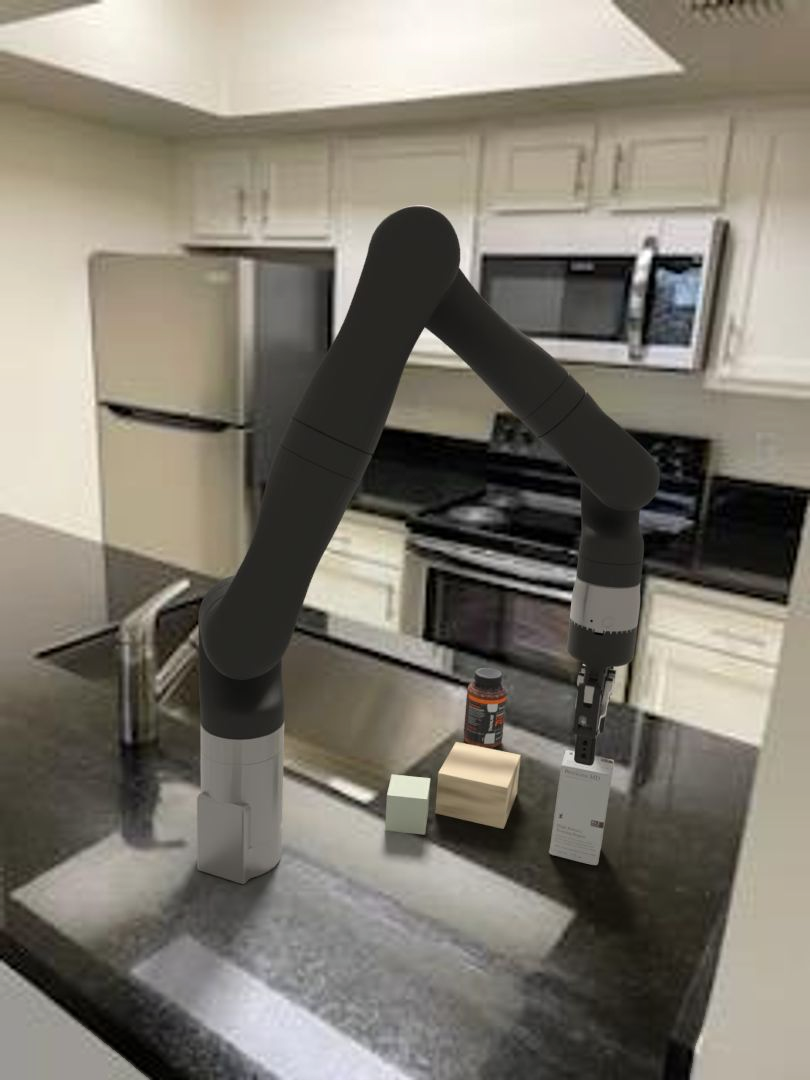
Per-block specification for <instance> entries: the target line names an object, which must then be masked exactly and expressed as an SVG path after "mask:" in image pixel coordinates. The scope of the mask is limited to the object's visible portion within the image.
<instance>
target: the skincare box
mask: <svg viewBox="0 0 810 1080" xmlns="http://www.w3.org/2000/svg"><path fill="white" fill-rule="evenodd" d="M574 754H575V750H574V751H573V750H569V749H565V750H564V755H563V758H562V762H561V765H560V769H559V779H558V780H559V781H558V785H557V794H556V800H555V807H554V815H553V822H552V828H551V829H552V832H551V837H550V845H549V850H548V854H549V855H552V856H556V857H558V858H563V859H566V860H571V861H574V862H578V863H583V864H588V865H591V866H597V865H599V861H600V860H599V859H600V854H601V848H602V842H603V837H604V829H605V824H606V819H607V818H606V817H607V810H608V803H609V797H610V790H611V787H612V786H611V785H612V780H613V778H612V777H613V770H614V765H615V761H614V759H611V758H610V759H609V758H605V757H601V756H597V755H595V760H594V763H593V765H591V766H588V765H583V764H579V763H576V762H575V761H574Z"/></svg>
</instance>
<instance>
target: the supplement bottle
mask: <svg viewBox="0 0 810 1080" xmlns="http://www.w3.org/2000/svg"><path fill="white" fill-rule="evenodd" d="M502 676H503V674H502V672H501V671H500V670H498V669H495V668H491V667H481V668H478V669H476V670H475V671H474V681H472V682H470V683H469V684H468V686H467V690H466V703H465V713H464V714H465V715H464V725H463V739H464V741H465V742H466V744H469V745H474V746H479V747H484V748H489V749H495V748H496V747H499V746H500V745H501V743H502V742H503V737H504V725H505V715H506V714H505V713H506V705H507V704H506V701H507V694H508V693H507V690H506V687H505V686H504V685H503V684H502V682H503V680H502Z"/></svg>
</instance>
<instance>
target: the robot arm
mask: <svg viewBox="0 0 810 1080" xmlns="http://www.w3.org/2000/svg"><path fill="white" fill-rule="evenodd" d="M460 264H461V246H460V241H459V238H458V235H457V232H456V230H455V228H454V226H453V224H452V223H451V221H450V220H449V219H448V218H447V217H446V216H445V215H444V214H443V213H442V212H441V211H439V210H438V209H435V207H434V208H433V207H431V206H428V205H422V204H421V205H419V204H418V205H417V204H416V205H409V206H406V207H405V206H404V207H402V208H399V209H397V210H396V211H394V212H392V213H390V214H389V215H387V216H386V217H385V218H384V219H382V221H381V222H380V223H379V224H378V225H377V227H376V229H375V230H374V231H373V233H372V235H371V239H370V242H369V244H368V247H367V253H366V257H365V260H364V263H363V266H362V269H361V273H360V276H359V279H358V282H357V285H356V288H355V290H354V294H353V296H352V299H351V302H350V305H349V308H348V310H347V313H346V315H345V318H344V320H343V322H342V324H341V327H340V329H339V331H338V333H337V334H336V337H335V338H334V340H333V342H332V344H331V345H330V346H329V349H328V350H327V351H326V352H325V353H326V354H325V355H324V356H323V358H322V360H321V361H320V363H319V364H318V365H317V366H318V367H317V368H316V369H315V372H314V373H313V375H312V377H311V379H310V380H309V382H308V384H307V386H306V388H305V390H304V392H303V394H302V395H301V397H300V400H299V401H298V403H297V405H296V407H295V408H294V411H293V413H292V415H291V416H292V417H291V418H290V419H289V422H288V424H287V427H286V428H285V431H284V433H283V435H282V438H281V440H280V441H279V444H278V446H277V448H276V452H275V454H274V457H273V458H272V459H273V460H272V462H271V464H270V465H271V466H270V468H269V473H268V476H267V480H266V484H265V488H264V491H263V496H262V500H261V504H260V509H259V513H258V517H257V521H256V527H255V530H254V533H253V536H252V539H251V541H250V545H249V547H248V549H247V551H246V554H245V556H244V558H243V560H242V562H241V564H240V566H239V568H238V570H237V571H236V573H235V575H230V576H227V577H225V578H222V579H221V580H219V581H218V582H216V583H215V584H214V585H212V587H210V588H209V589H208V590H207V592H206V593H205V595H204V597H203V599H202V601H201V604H200V607H199V610H198V620H197V621H198V626H197V627H198V629H197V630H198V633H197V635H198V688H199V689H198V691H199V692H198V693H199V713H200V714H199V715H200V793H199V794H198V795H197V796H196V845H197V846H196V854H197V856H196V857H197V858H196V859H197V860H196V861H197V862H196V865H197V871H200V872H202V873H206V874H209V875H212V876H216V877H219V878H222V879H224V880H229V881H231V882H234V883H237V884H241V885H244V884H246V883H247V882H248V881H249V880H250V879H253V878H255V877H259V876H261V875H263V874H265V873H268V872H269V871H271V870H273V868H275V867H276V866H277V864H278V863H279V862H280V860H281V858H282V854H283V853H282V852H283V851H282V850H283V847H282V845H283V807H284V805H283V803H284V802H283V801H284V800H283V797H284V796H283V794H284V793H283V792H284V755H285V754H284V752H285V751H284V750H285V749H284V748H285V746H284V745H285V717H286V715H285V714H286V713H285V711H286V710H285V707H286V705H285V704H286V701H285V700H286V698H285V691H284V681H283V669H282V668H283V667H282V666H283V665H282V658H283V657H284V656H285V654H286V652H287V651H288V648H289V645H290V643H291V641H292V638H293V635H294V632H295V629H296V625H297V623H298V620H299V617H300V614H301V611H302V608H303V605H304V602H305V599H306V596H307V593H308V591H309V588H310V585H311V582H312V579H313V577H314V575H315V572H316V570H317V568H318V565H319V563H320V561H321V559H322V557H323V556H324V554H325V552H326V550H327V548H328V546H329V544H330V543H331V541H332V539H333V537H334V535H335V533H336V532H337V529H338V528H339V525H340V522H341V521H342V519H343V516H345V512H346V510H347V508H348V506H349V504H350V502H351V500H352V498H353V497H354V494H355V493H356V491H357V488H358V487H359V485H360V483H361V481H362V479H363V476H364V474H365V473H366V470H367V468H368V465H369V463H370V462H371V459H372V457H373V455H374V453H375V450H376V449H377V446H378V443H379V441H380V438H381V436H382V433H383V431H384V428H385V425H386V423H387V421H388V419H389V415H390V412H391V410H392V406H393V404H394V400H395V397H396V395H397V391H398V388H399V385H400V382H401V378H402V375H403V373H404V371H405V367H406V365H407V362H408V360H409V357H410V356H411V353H412V352H413V350H414V347H415V346H416V344H417V342H418V340H419V338H420V337H421V335H422V333H423V331H424V329H427V331H429V332H430V333H431V334H432V335H434V336H435V337H436V338H437V339H439V340H440V341H441V342H442V343H444V344H445V346H447V347H448V348H449V349H450V350H452V352H454V353H455V355H457V356H458V357H459V358H460V359H461V360H462V361H463V362H464V363H465V364H466V365H467V366H468V367H469V368H470V369H471V370H472V371H473V373H475V374H476V375H477V376H478V377H479V378H480V379H481V381H482V382H484V383H485V384H486V386H487V387H489V389H490V390H491V391H492V392H493V394H495V395H496V397H498V398H499V400H501V401H502V402H503V404H504V405H505V406H506V407H507V408H508V409H509V410H510V412H512V413H513V414H514V416H516V418H518V419H519V420H520V422H521V423H523V425H525V427H527V429H529V431H531V433H532V434H533V435H534V436H535V437H537V439H538V440H540V441H541V443H542V444H544V445H545V446H547V448H548V449H550V450H551V451H553V452H554V453H556V454H557V456H559V458H561V459H562V460H563V461H564V462H565V463H566V465H567V466H568V467H569V468H570V469H571V470H572V472H573V473H574V474H575V475H576V476H577V477H578V478H579V479H580V521H581V532H580V533H581V535H580V542H579V546H578V547H579V548H578V554H577V555H578V556H577V566H576V567H577V568H576V576H575V582H574V584H573V589H572V593H571V601H570V603H571V605H570V610H569V613H570V614H569V622H568V632H567V633H568V634H567V641H566V642H567V643H566V650H567V653H568V654H569V656H571V658H573V659H574V660H576V661H580V662H581V663H582V665H581V669H580V670H581V671H579V672H578V675H577V680H576V685H577V687H576V690H577V691H576V692H577V693H576V699H575V703H574V709H575V711H574V712H575V713H574V720H573V721H574V723H573V726H572V730H571V731H572V734H573V735H575V746H574V752H575V754H574V761H575V762H576V763H579V764H583V765H588V766H591V765H593V763H594V760H595V756H596V749H597V741H598V735H599V734H602V733H604V731H605V727H606V718H607V710H608V706H609V705H608V704H609V701H610V700H611V696H613V692H614V689H615V688H614V687H615V683H616V678H617V675H618V673H617V672H618V671H617V669H615V668H618V667H623V666H626V665H628V664H630V663H631V662H632V661H633V659H634V656H635V649H636V648H635V647H636V639H637V634H638V633H637V631H638V623H639V615H640V609H641V580H642V572H643V565H644V563H643V562H644V552H645V544H644V542H645V541H644V538H643V534H642V532H641V529H640V513H641V509H642V508H643V507H645V506H647V505H648V504H649V503H651V501H652V500H653V499H654V497H655V496H656V495H657V492H658V490H659V487H660V480H661V478H660V470H659V467H658V465H657V463H656V460H655V459H654V458H653V456H652V455H651V454H650V452H649V451H648V450H647V449H646V448H644V447H643V446H642V445H641V443H639V441H637V440H636V439H635V438H634V437H633V436H632V435H630V433H629V432H627V430H625V429H624V428H623V427H622V426H620V425H619V424H618V422H617V421H615V420H614V419H613V418H612V417H611V416H609V415H608V414H606V413H605V412H604V411H603V409H602V408H601V406H599V404H598V403H597V401H595V399H594V398H593V396H592V395H591V394H590V393H589V392H588V391H587V390H586V389H585V388H584V387H583V386H582V385H581V384H580V383H579V382H578V381H577V380H576V379H575V377H574V376H572V374H571V373H570V372H569V371H568V370H567V369H566V368H565V367H564V366H563V365H562V364H561V363H560V362H558V360H556V359H555V357H553V356H552V354H551V353H549V352H547V351H546V349H544V348H543V347H541V346H540V344H538V343H536V342H535V341H534V340H532V339H531V338H530V337H528V336H527V335H526V334H524V333H523V332H522V331H521V330H519V329H518V328H517V327H516V326H514V325H513V324H511V322H509V321H508V320H507V319H506V318H504V317H503V316H502V315H501V314H500V313H499V312H498V311H497V310H496V309H495V308H493V306H491V305H490V304H489V302H487V301H486V300H485V298H483V296H482V295H481V294H480V293H479V291H478V290H477V289H476V288H475V287H474V286H473V284H472V283H471V281H470V280H469V279H468V277H467V276H466V275H465V274H464V272H463V270H462V269H461V267H460ZM583 718H585V719H586V720H585V721H586V722H585V723H583Z"/></svg>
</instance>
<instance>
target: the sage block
mask: <svg viewBox="0 0 810 1080" xmlns="http://www.w3.org/2000/svg"><path fill="white" fill-rule="evenodd" d="M430 786H431V778H430V777H419V776H410V775H403V774H402V775H400V774H393V773H391V776H390V781H389V785H388V789H387V794H386V807H385V823H384V825H385V827H384V830H385V832H386V831H388V832H397V833H405V834H415V835H416V834H417V835H423V836H424V835H426V831H427V830H426V829H427V823H428V822H427V821H428V817H429V816H428V815H429V804H430V803H429V802H430V801H429V800H430V791H431V787H430Z"/></svg>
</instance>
